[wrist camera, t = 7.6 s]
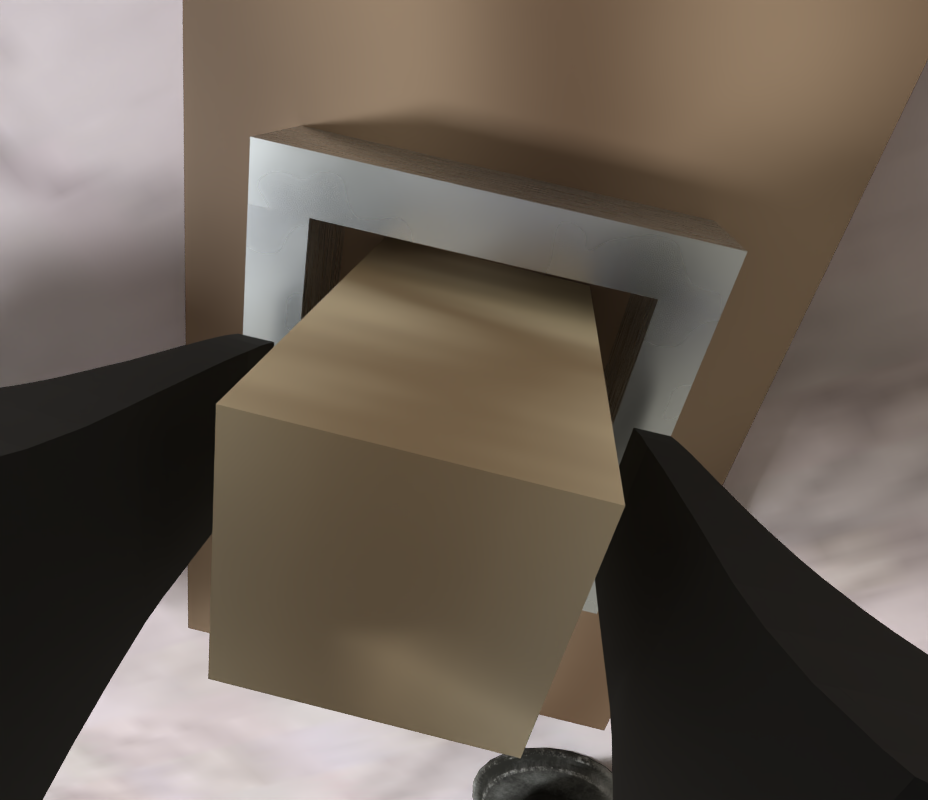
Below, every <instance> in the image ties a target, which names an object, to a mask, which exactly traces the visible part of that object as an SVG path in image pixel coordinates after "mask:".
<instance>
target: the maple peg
mask: <svg viewBox="0 0 928 800" xmlns="http://www.w3.org/2000/svg"><path fill="white" fill-rule="evenodd" d="M624 508H625V501H624V495H623V489H622V483H621V476H620V470H619V464H618V458H617V452H616V446H615V439H614V433H613V427H612V421H611V415H610V408H609V402H608V396H607V390H606V384H605V378H604V371H603V365H602V359H601V353H600V347H599V341H598V334H597V328H596V322H595V316H594V310H593V303H592V297H591V291H590V286H588V285H584V284H580V283H576V282H572V281H568V280H564V279H560V278H556V277H552V276H547V275H543V274H539V273H535V272H531V271H527V270H523V269H519V268H515V267H511V266H506V265H502V264H498V263H494V262H490V261H486V260H482V259H478V258H474V257H470V256H466V255H461V254H457V253H453V252H449V251H445V250H441V249H437V248H433V247H429V246H425V245H420V244H416V243H412V242H408V241H404V240H400V239H396V238H392V237H388V236H386V237H385V238H384V239H383V240H382V241H381V242H380V243H379V244H378V245H377V246H376V247H375V248H374V249H373V250H372V251H371V252H370V253H369V254H368V255H367V256H366V257H365V258H364V259H363V260H362V261H361V262H360V263H359V264H358V265H357V266H356V267H354V268H353V269H352V270H351V271H350V272H349V273H348V274H347V275H346V276H345V277H344V278H343V279H342V280H341V281H340V282H339V283H338V284H337V285H336V286H335V287H334V288H333V289H332V290H331V291H330V292H329V293H328V294H327V295H326V296H325V297H324V298H323V299H322V300H321V301H320V302H319V303H318V304H317V305H316V306H315V307H314V308H313V309H312V310H311V311H310V312H309V313H308V314H307V315H306V316H305V317H304V318H303V319H302V320H301V321H300V322H299V323H298V324H297V325H296V326H295V327H294V328H293V329H292V330H291V331H290V332H289V333H288V334H286V335H285V336H284V337H283V338H282V339H281V340H280V341H279V342H278V343H277V344H276V345H275V346H274V347H273V348H272V349H271V350H270V351H269V352H268V353H267V354H266V355H265V356H264V357H263V358H262V359H261V360H260V361H259V362H258V363H257V364H256V365H255V366H254V367H253V368H252V369H251V370H250V371H249V372H248V373H247V374H246V375H245V376H244V377H243V378H242V379H241V380H240V381H239V382H238V383H237V384H236V385H235V386H234V387H233V388H232V389H231V390H230V391H229V392H228V393H227V394H226V395H225V396H224V397H223V398H222V399H221V400H220V401H218V402H217V403H216V422H215V458H214V494H213V530H212V566H211V602H210V638H209V674H208V679H211V680H215V681H219V682H223V683H227V684H231V685H235V686H239V687H243V688H247V689H251V690H255V691H258V692H262V693H266V694H270V695H274V696H278V697H282V698H286V699H290V700H294V701H298V702H302V703H306V704H309V705H313V706H317V707H321V708H325V709H329V710H333V711H337V712H341V713H345V714H349V715H353V716H357V717H360V718H364V719H368V720H372V721H376V722H380V723H384V724H388V725H392V726H396V727H400V728H404V729H408V730H411V731H415V732H419V733H423V734H427V735H431V736H435V737H439V738H443V739H447V740H451V741H455V742H459V743H462V744H466V745H470V746H474V747H478V748H482V749H486V750H490V751H494V752H498V753H502V754H506V755H510V756H513V757H517V758H521V756H522V754H523V751H524V749H525V746H526V744H527V742H528V739H529V737H530V734H531V732H532V729H533V727H534V725H535V722H536V720H537V717H538V715H539V713H540V710H541V708H542V705H543V703H544V701H545V698H546V696H547V693H548V691H549V688H550V686H551V684H552V681H553V679H554V676H555V674H556V672H557V669H558V667H559V664H560V662H561V660H562V657H563V655H564V652H565V650H566V647H567V645H568V643H569V640H570V638H571V635H572V633H573V631H574V628H575V626H576V623H577V621H578V619H579V616H580V614H581V611H582V609H583V606H584V604H585V602H586V599H587V597H588V594H589V592H590V590H591V587H592V585H593V582H594V580H595V577H596V575H597V573H598V570H599V568H600V565H601V563H602V561H603V558H604V556H605V553H606V551H607V549H608V546H609V544H610V541H611V539H612V536H613V534H614V532H615V529H616V527H617V524H618V522H619V520H620V517H621V515H622V512H623V510H624Z"/></svg>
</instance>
